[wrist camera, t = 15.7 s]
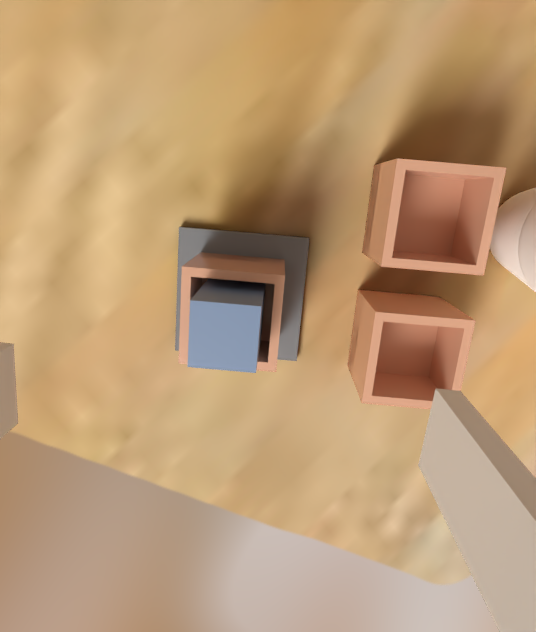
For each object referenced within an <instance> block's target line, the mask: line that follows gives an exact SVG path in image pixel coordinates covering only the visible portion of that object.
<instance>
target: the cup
mask: <svg viewBox="0 0 536 632" xmlns="http://www.w3.org/2000/svg"><path fill="white" fill-rule="evenodd" d="M490 250H491V252H492V254H493V256H494V257H495V259H496V260H497V261H498V262H499V263H500V264H501V265H502V266H503V267H505V268H506V269H507V270H508V271H510V272H511V273H512V274H513V275H515V276H516V277H517V278H518V279H520V280H521V281H522V282H523V283H525V284H526V285H527V286H529V287H530V288H531V289H532V290H533V291H535V292H536V188H532V189H529V190H526V191H523V192H520V193H518V194H516V195H514V196H512V197H511V198H509V199H508V200H507V201H505V202H504V203H503V204H502V205H501V206H500V207H499V208H498V210H497V215H496V220H495V225H494V229H493V234H492V239H491V244H490Z"/></svg>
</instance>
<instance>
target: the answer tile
mask: <svg viewBox="0 0 536 632" xmlns="http://www.w3.org/2000/svg"><path fill="white" fill-rule="evenodd" d="M308 248H309V238H306V237H295V236H283V235H272V234H260V233H249V232H237V231H226V230H214V229H202V228H191V227H179V247H178V279H177V311H176V343H175V350H177V351H179V336H180V305H181V275H182V266H183V265H184V264H186V263H187V262H188V261H190V260H191V259H192V258H194V257H195V256H196V255H198V254H199V253H200V252H204V253H216V254H227V255H239V256H250V257H262V258H274V259H284V261H285V282H284V293H283V304H282V314H281V325H280V336H279V346H278V357H277V359H279V360H291V361H297V351H298V342H299V332H300V323H301V314H302V304H303V295H304V285H305V276H306V267H307V257H308Z"/></svg>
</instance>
